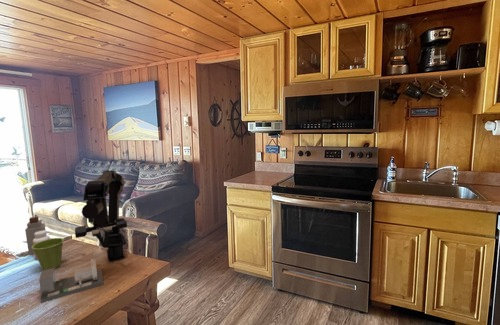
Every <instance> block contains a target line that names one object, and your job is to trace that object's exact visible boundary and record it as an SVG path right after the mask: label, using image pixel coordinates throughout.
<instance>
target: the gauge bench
mask: <svg viewBox="0 0 500 325" xmlns="http://www.w3.org/2000/svg"><path fill="white" fill-rule="evenodd" d="M96 270H97V278H98V279H96V280H93V279H90V280H86V281H83V282H81V285H80V284H79V283H76V284H75V277H74V275H73V276H70V277H67V278H66V277H65V278H63V279H59V280H56V278H57V277H56V272H55V269H54V268H52V269H48V270H41V272H40V276H39V278H38V279H39V280H38V281H39V282H38V283H39V288H40V294H41V295H40V303H41V304H43V303H45V302H48V301H51V300H56V299H60V298H62V297H66V296H69V295H72V294H73V295H74V294H76V293H80V292H84V291H86V290H90V289H94V288H98V287H101V286H103V285H104V278H103V271H102V269H101V268H99V269H96ZM59 283H62V284H63V291H62V292H60V291H59Z"/></svg>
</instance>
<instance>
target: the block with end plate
mask: <svg viewBox="0 0 500 325" xmlns="http://www.w3.org/2000/svg"><path fill="white" fill-rule="evenodd" d="M96 263H97V262H96V258H92V259H90V265H88V266H84V267H79V268H76V269H73V270H74V272H73V274H74V275H73V276H74V277H75V284H76V283H79V284H80V285H81V282H83V281H86V280H90V279H93V280H96V279H98V278H97V270H98V269H97V264H96Z"/></svg>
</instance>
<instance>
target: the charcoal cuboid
mask: <svg viewBox="0 0 500 325" xmlns="http://www.w3.org/2000/svg"><path fill="white" fill-rule="evenodd" d="M59 291H60V292H62V291H63V284H62V283H59Z"/></svg>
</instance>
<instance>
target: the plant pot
mask: <svg viewBox="0 0 500 325" xmlns="http://www.w3.org/2000/svg"><path fill="white" fill-rule="evenodd" d="M64 240H65V239H64V238H62V237H55V238H50V239H48V240H44V241H41V242H38V243H36V244H34V245H33V246H32V249H34V251H35V253H36V255H37V257H38V260H37V261H38V262H39V265H40V268H41V269H42V270H41V271H44V270H48V269H52V268H54V270H55V269H56V268H57V267H60V266H62V259H63V258H62V257H63V255H62V254H63V253H62V252H63V244H64Z"/></svg>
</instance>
